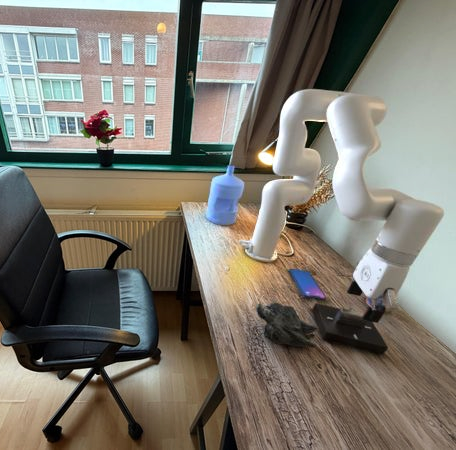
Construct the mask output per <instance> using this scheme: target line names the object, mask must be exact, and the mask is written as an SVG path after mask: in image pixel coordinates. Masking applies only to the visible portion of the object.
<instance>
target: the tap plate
mask: <svg viewBox="0 0 456 450" xmlns="http://www.w3.org/2000/svg"><path fill="white" fill-rule="evenodd" d="M340 308H341V307H340ZM340 308H339V307H335V306H330V305H327V304H323V303H317V302H314V305H313V307H312V309H311V311H312V314H313V317H314V320H315V322H316V326H317V327H318V328H319V330H318V331H319V334H320V336H321V339H322V340H323V341H327V342H330V343H335V344H339V345H343V346H346V347H350V348H354V349H358V350H362V351H366V352H370V353H373V354H377V355H381V356H383V355H384V354H385V353H386V351H387V350H388V349H389V347H388V345H387V343H386V341H385V340H384V338H383V336H382V335H381V334H380V331H379V330H378V328H377V326H376V324H375V322H370V321H368V322H367V324H366V325H365V327H364V328H359V327H355V326H351V325H347V324H343V323H339V322H336V319H335V317H336V315H337V313H338V311H339V310H340Z"/></svg>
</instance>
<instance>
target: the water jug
mask: <svg viewBox="0 0 456 450" xmlns="http://www.w3.org/2000/svg"><path fill="white" fill-rule="evenodd" d="M235 167H236V166H235V165H230V164H229V165H227V169H226V173H225V174H221V175H217V176H214V177H212V179H211V180H212V181H211V183H210V189H209V197H208V201H207V208H206V213H205V218H206V219H207V220H208V221H209V222H210V223H213V224H215V225H220V226H230V225H231V226H232V225H233V224H235V223H236V222H237V218H238V212H239V208H238V205H239V199H241V198H242V197H243V192H244V189H245V182H244V181H243V180H242V179H241V178H239V177H237V176H236V175H234V171H235Z"/></svg>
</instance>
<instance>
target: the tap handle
mask: <svg viewBox="0 0 456 450" xmlns="http://www.w3.org/2000/svg"><path fill="white" fill-rule="evenodd" d="M364 313H365V312H361V311H357V310H353V309H349V308H344V307H340V310H339V311H338V313H337V315H336V317H335V319H336V322H339V323H343V324H347V325H351V326H355V327H359V328H364V327H365V325H366V324H367V322H368V321H366V320H363V318H362V317H363V315H364Z"/></svg>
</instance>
